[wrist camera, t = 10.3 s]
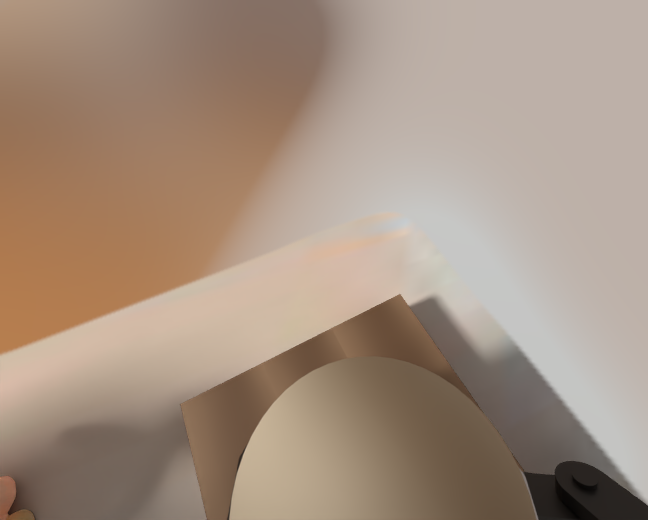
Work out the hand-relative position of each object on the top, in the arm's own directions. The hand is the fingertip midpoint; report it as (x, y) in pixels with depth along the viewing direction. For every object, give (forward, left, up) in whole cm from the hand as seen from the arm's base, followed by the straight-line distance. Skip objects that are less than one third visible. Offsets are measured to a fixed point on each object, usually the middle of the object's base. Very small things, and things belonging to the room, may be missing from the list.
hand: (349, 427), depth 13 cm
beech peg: (0, -2, -6) cm, 6 cm away
